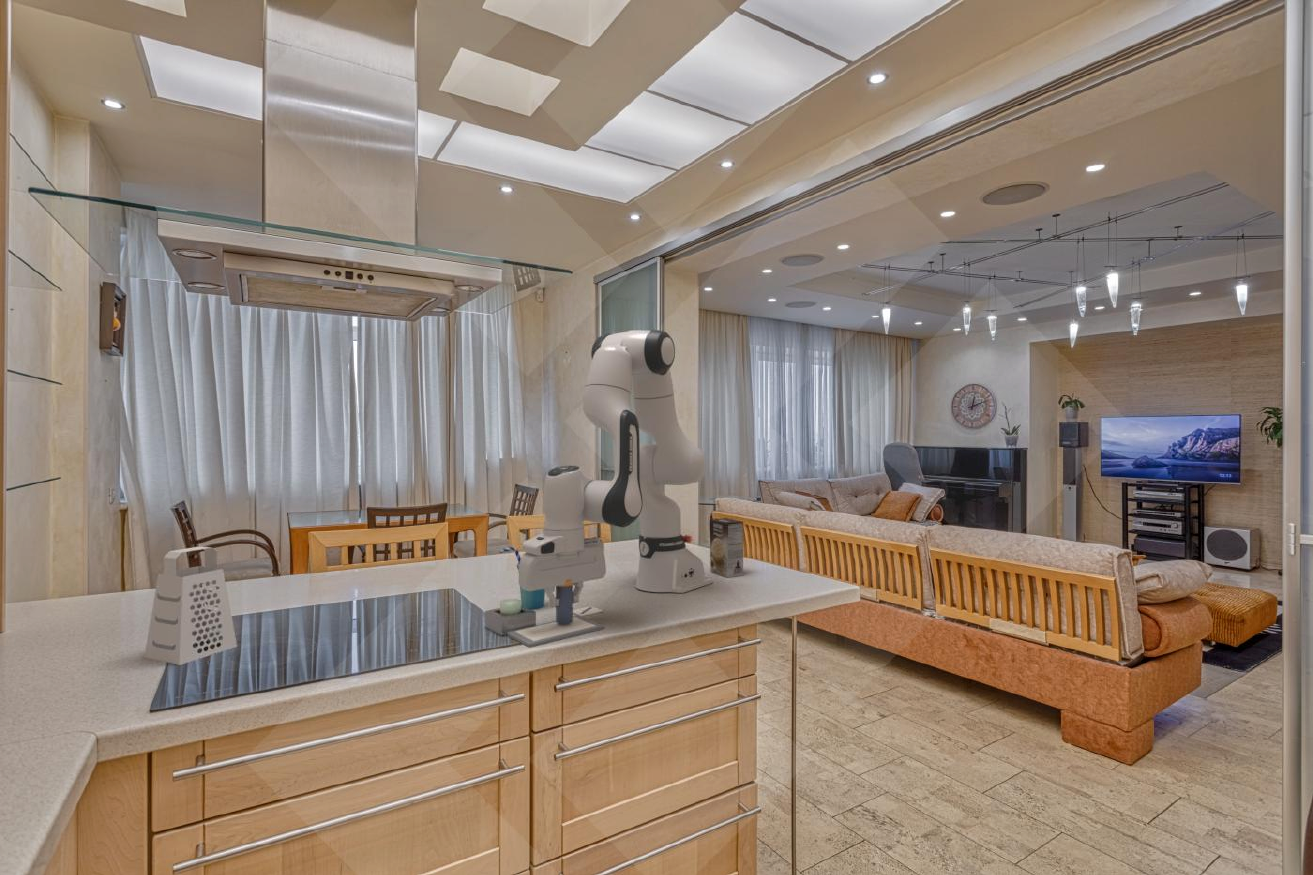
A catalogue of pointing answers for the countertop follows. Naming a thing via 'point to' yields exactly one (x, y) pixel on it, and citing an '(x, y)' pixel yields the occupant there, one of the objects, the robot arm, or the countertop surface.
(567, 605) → the orange capped blue bottle
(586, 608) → the card
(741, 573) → the coffee box
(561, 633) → the board
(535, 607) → the cup
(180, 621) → the grater
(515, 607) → the button
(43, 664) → the countertop surface
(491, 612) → the button housing
